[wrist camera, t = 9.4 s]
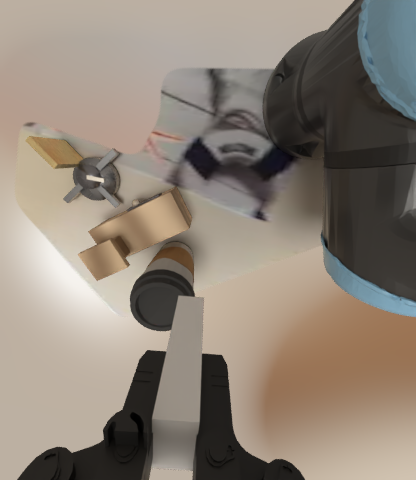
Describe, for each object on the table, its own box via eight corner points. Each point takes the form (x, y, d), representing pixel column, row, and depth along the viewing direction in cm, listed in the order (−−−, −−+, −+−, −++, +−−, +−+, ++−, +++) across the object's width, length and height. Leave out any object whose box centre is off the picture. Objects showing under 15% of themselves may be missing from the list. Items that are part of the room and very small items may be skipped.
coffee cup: (145, 260, 41) (113, 313, 27) (170, 226, 39) (148, 265, 25) (182, 283, 43) (169, 344, 29) (207, 252, 41) (207, 302, 27)
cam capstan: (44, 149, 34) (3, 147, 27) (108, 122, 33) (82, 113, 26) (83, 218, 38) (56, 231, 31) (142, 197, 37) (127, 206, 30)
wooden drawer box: (173, 180, 36) (159, 189, 26) (192, 219, 38) (187, 241, 28) (102, 215, 38) (63, 235, 28) (124, 250, 41) (97, 280, 30)
